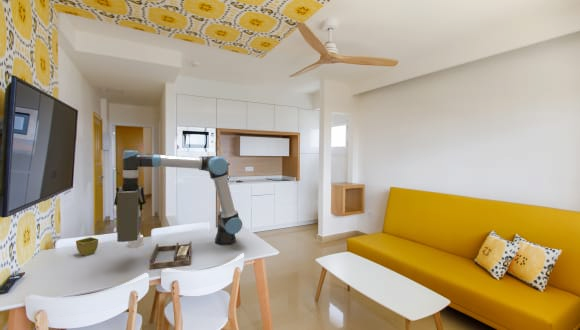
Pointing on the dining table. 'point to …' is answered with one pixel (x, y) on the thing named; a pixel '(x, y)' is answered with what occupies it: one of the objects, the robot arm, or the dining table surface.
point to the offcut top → (182, 252)
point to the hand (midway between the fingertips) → (130, 216)
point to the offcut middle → (183, 258)
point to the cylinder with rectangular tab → (136, 242)
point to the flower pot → (87, 246)
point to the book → (128, 215)
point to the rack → (171, 263)
